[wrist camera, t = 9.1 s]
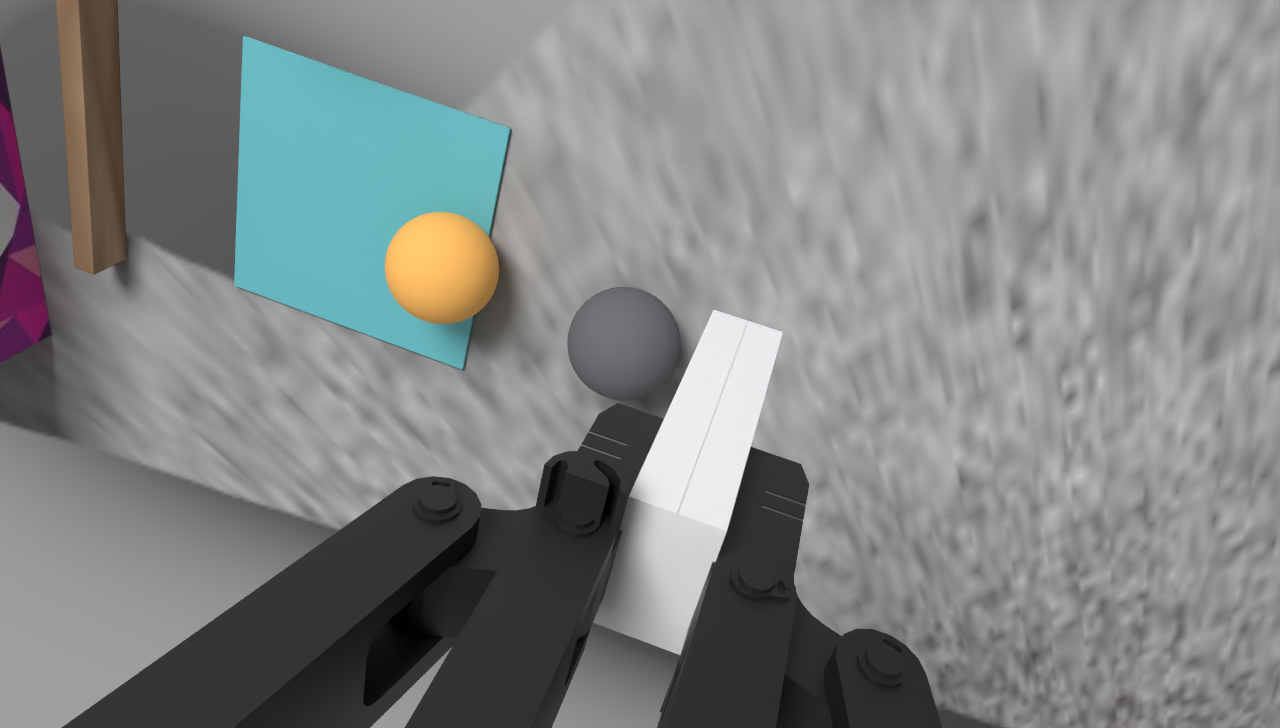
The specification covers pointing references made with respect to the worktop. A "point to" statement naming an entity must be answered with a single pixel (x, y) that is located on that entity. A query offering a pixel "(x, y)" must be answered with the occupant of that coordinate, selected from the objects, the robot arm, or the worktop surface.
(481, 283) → the orange ball
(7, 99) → the decorative box
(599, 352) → the gray ball
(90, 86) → the wall
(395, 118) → the teal mark
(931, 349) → the worktop surface
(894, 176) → the worktop surface
